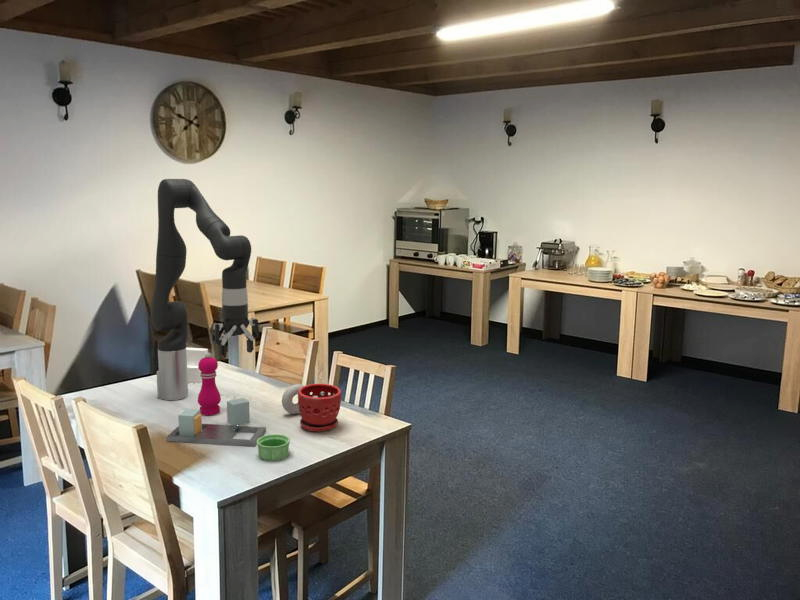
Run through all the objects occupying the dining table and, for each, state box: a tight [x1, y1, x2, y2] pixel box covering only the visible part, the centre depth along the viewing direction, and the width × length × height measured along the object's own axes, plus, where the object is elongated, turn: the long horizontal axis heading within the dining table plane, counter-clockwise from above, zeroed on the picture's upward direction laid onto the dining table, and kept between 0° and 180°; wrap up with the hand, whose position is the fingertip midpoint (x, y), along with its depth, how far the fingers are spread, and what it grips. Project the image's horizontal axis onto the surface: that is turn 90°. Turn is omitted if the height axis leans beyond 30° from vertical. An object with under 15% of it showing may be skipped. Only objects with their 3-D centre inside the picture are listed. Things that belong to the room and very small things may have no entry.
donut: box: [281, 383, 305, 415], centre depth 212 cm, size 10×4×10 cm, turn 126°
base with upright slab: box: [186, 346, 209, 385], centre depth 244 cm, size 9×9×12 cm
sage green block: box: [177, 408, 203, 436], centre depth 193 cm, size 5×5×7 cm
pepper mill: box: [197, 352, 222, 416], centre depth 211 cm, size 7×7×20 cm
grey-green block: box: [226, 397, 251, 426], centre depth 204 cm, size 5×5×7 cm
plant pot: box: [297, 383, 342, 433], centre depth 201 cm, size 13×13×12 cm
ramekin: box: [256, 433, 291, 461], centre depth 181 cm, size 9×9×4 cm
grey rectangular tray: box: [166, 423, 267, 448], centre depth 193 cm, size 26×11×2 cm, turn 84°
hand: (236, 354), depth 200 cm, fingers open, 8 cm apart
